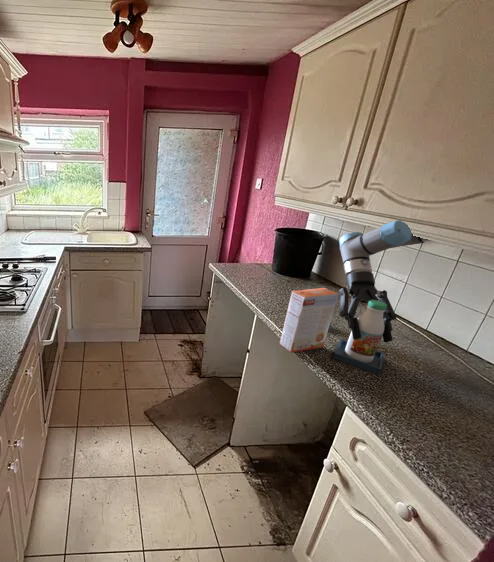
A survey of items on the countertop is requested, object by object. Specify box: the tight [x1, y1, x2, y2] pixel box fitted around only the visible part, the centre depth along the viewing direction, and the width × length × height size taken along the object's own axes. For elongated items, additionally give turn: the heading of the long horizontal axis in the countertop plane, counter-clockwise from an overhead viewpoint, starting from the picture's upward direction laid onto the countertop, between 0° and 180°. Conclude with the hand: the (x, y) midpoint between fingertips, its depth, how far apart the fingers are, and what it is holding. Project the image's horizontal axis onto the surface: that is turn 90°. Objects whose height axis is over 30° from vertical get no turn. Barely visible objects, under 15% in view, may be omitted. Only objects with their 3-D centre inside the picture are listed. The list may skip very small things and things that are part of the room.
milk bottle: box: [345, 299, 387, 363], centre depth 100 cm, size 8×8×20 cm
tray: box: [332, 338, 385, 376], centre depth 104 cm, size 12×12×2 cm
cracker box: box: [279, 287, 340, 353], centre depth 106 cm, size 14×6×21 cm, turn 105°
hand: (372, 339), depth 98 cm, fingers open, 8 cm apart
